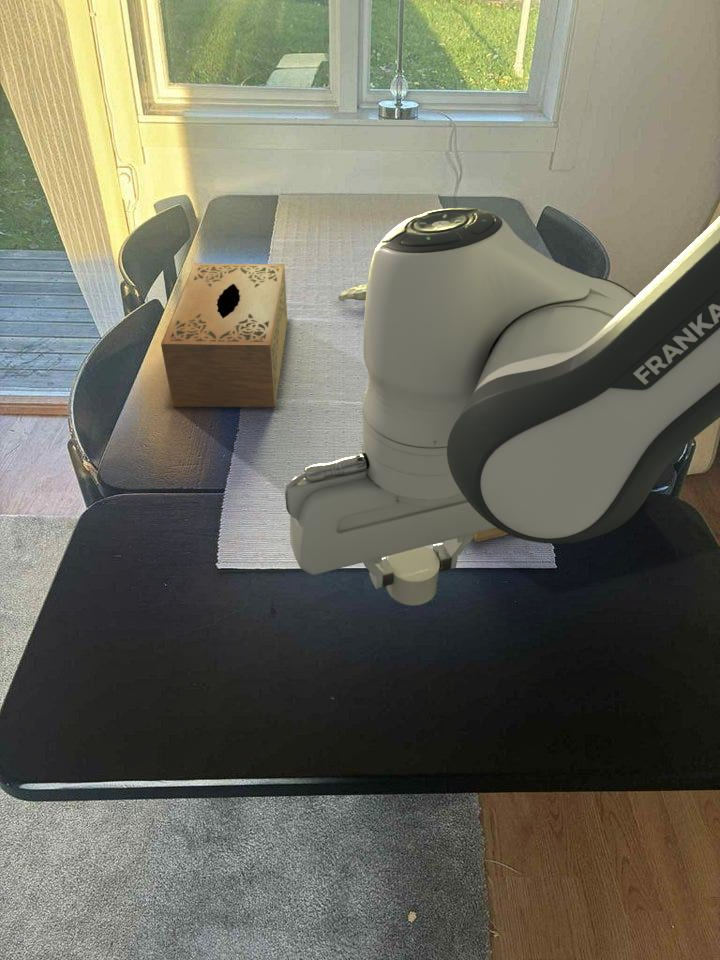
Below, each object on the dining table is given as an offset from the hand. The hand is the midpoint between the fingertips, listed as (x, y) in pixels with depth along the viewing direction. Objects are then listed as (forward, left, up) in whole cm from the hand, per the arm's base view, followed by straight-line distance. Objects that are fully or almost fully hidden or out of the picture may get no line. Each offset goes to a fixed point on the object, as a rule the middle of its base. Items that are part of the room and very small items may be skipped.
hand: (413, 572), depth 59 cm
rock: (+70, -28, -13) cm, 76 cm away
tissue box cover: (+60, +4, -13) cm, 61 cm away
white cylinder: (0, 0, -2) cm, 2 cm away
